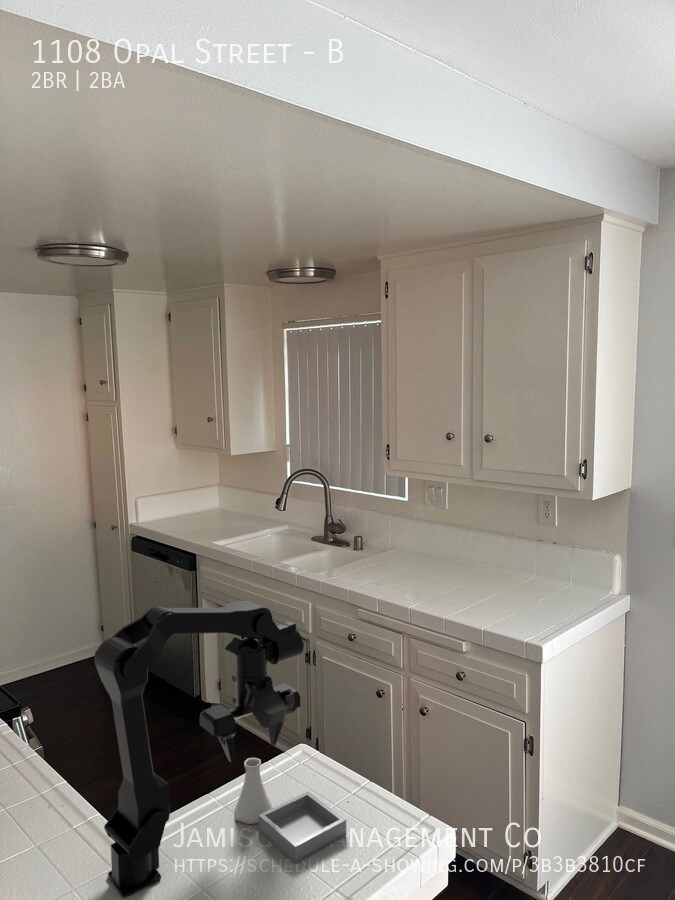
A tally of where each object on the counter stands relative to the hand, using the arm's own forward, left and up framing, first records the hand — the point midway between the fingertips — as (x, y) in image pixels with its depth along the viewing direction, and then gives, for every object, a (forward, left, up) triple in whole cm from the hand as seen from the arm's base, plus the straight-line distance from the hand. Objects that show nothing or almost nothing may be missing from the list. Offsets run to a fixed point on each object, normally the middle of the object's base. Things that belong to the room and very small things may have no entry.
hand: (252, 752), depth 126 cm
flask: (0, 0, -12) cm, 12 cm away
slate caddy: (+4, -10, -12) cm, 16 cm away
